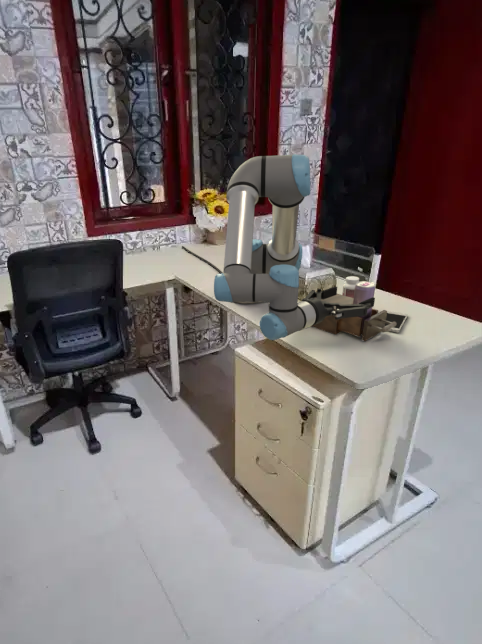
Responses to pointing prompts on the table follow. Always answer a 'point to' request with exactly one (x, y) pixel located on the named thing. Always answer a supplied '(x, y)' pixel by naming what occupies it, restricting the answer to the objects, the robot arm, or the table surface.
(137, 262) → the table surface
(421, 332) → the table surface
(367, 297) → the beverage can
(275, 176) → the robot arm
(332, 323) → the cabinet
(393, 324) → the drawer
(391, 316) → the smartphone
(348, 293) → the pill bottle
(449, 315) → the table surface
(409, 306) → the table surface
